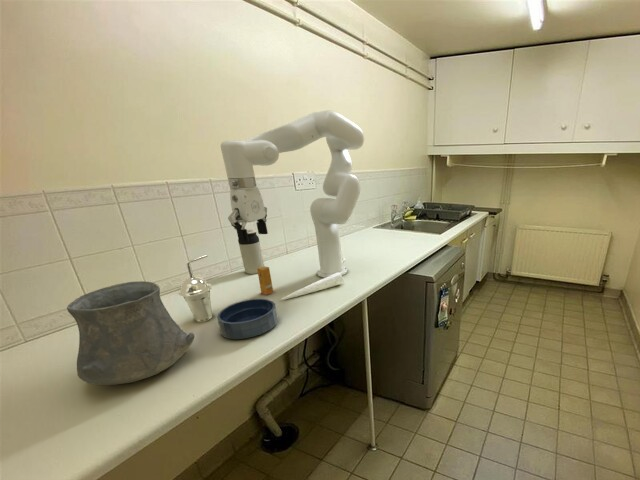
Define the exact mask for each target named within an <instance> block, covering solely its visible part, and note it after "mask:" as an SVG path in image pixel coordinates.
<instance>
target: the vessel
mask: <svg viewBox="0 0 640 480" xmlns="http://www.w3.org/2000/svg"><path fill="white" fill-rule="evenodd" d="M66 310H67V312H68V313H69V314H70V315H71V317H72V318H73V319H74V321H75V322H76V325H77V328H78V335H79V337H78V338H79V339H78V341H79V344H78V350H77V351H78V352H77V358H76V375H77V377H78V378H79V379H80V380H81V381H82V382H85V383H86V384H90V385H91V384H92V385H97V386H112V385H114V386H115V385H122V384H130V383H134V382H137V381H142V380H144V379H148V378H150V377H153V376H156V375H158V374H159V373H161V372H163V371H166V370H167V369H168V368H170V367H171V366H173V365H174V364H175V363H176V362H177V361H179V359H181V358H182V357H183V355H184V354H185V353H186V352H187V351H188V349H190V347H191V345H192V344H193V341H194V339H195V333H194V332H189V333H187V332H186V331H185V330H183V329H182V328H181V327H180V326H179V324H178V323H177V322H176V321H175V320H174V319H173V317H172V316H171V314H170V313H169V311H168V310H167V308H166V306H165V304H164V303H163V301H162V299H161V288H160V286H159V285H158V284H157V283H155V282H152V281H143V280H142V281H128V282H122V283H117V284H113V285H108V286H105V287H102V288H99V289H95V290H92V291H90V292H88V293H84V294H82V295H80V296H79V297H76V298H75V299H74V300H73V301H72V302H70V303H69V304H68V305H67V306H66Z"/></svg>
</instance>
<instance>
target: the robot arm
mask: <svg viewBox="0 0 640 480" xmlns="http://www.w3.org/2000/svg"><path fill="white" fill-rule="evenodd" d="M322 138H325V140H326V144H327V146H328V148H329V152H330V154H331V155H330V156H331V159H330V160H331V161H330V164H329V167H328V169H327V172H326V175H325V177H324V180H323V184H322V191H323V194H325V195H326V196H328V197H317V198H316V199H314V200H313V201H312V202H311V203H310V207H309V213H310V216H311V217H310V218H311V219H312V222H313V226H314V230H315V231H314V232H315V237H316V246H317V247H316V248H317V255H318V261H319V262H318V263H319V268H318V270H317V271H316V274H317V276H318V277H320V278H323V279H324V278H326V277H329V276H330V275H333V274H335V273H338V272H339V273H340V274H341V275H342V276H344V275H345V274H347V273H348V268H347V267H346V266H344V263H345V262H346V260H347V259H346V258H345V257H343V252H342V251H343V250H342V241H341V232H340V228H339V226H338V225H345V224H347V223H348V222H350V220H351V218H352V215H353V213H354V210H355V208H356V206H357V203H358V200H359V196H360V193H361V183H360V180H359V178H358V177H357V176H356V175H354V174H352V169H353V161H352V157H351V155H350V153H349V151H351V150H352V151H353V150H355V151H356V150H359V149H361V148H362V147H363V145H364V143H365V134H364V132H363V130H362V129H361V127H360V126H359V125H357V124H355V122H353V121H352V120H349V119H348V118H347V117H345V116H344V115H342V114H341V113H339V112H336V111H334V110H321V111H314V112H311V113H308V114H307V115H304V116H302V117H299V118H297V119H295V120H293V121H291V122H288V123H286V124H282V125H280V126H277V127H275V128H273V129H270V130H268V131H264V132H262V133H259V134H257V135H255V136H252V137H250V138H248V139H245V140H224V141H221V142H220V150H221V151H220V152H221V154H222V159H223V163H224V164H223V165H224V167H225V172H226V177H227V182H228V186H229V197H230V198H229V201H230V206H231V207H230V208H231V213H230V214H229V216H228V217H227V220H228V222H229V223H230V225H231V227H233V229H234V230H235V231H236V234H237V240H238V239H239V241H240V242H248V241H249V238H248V233H247V229H248V228H246V225H247V223H252V222H255V223H256V228H257V229H256V230H257V233H258V234H259V235H268V234H269V232H268V228H267V223H266V222H267V217H268V214H267V213H268V208H267V207H266V206H265V204H264V200H263V196H262V194H261V190H260V188H259V187H258V186H257V179H256V176H255V171H254V166H262V167H263V166H265V167H267V166H272V165H274V164H275V163H277V161H278V160H279V157H280V154H283V153H288V152H295V151H298V150H302V149H303V148H305V147H307V146H309V145H310V144H312V143H315V142H317V141H318V140H320V139H322ZM256 221H257V222H256Z"/></svg>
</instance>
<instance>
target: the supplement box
mask: <svg viewBox="0 0 640 480" xmlns="http://www.w3.org/2000/svg"><path fill="white" fill-rule="evenodd" d="M257 271H258V273H257V276H258V282H259V288H260V293H261V294H262V295H265V296H268V295H271V294H273V293H274V288H273V282H272V276H271V269H270V267H269V266H265V265H264V266H263V267H259V268H257Z"/></svg>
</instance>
